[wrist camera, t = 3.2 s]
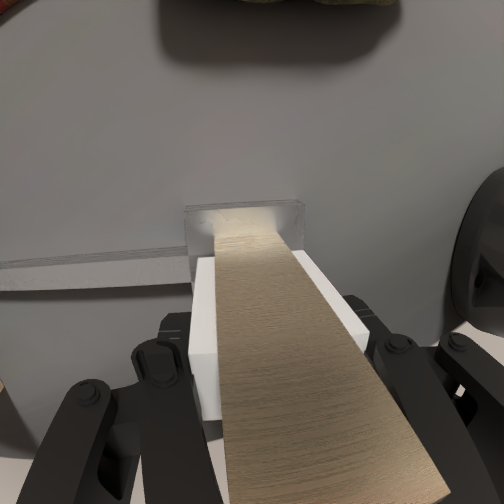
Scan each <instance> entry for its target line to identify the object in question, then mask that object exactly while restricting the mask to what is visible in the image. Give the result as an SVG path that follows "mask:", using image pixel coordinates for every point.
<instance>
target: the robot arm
mask: <svg viewBox="0 0 504 504" xmlns="http://www.w3.org/2000/svg"><path fill="white" fill-rule="evenodd" d="M291 252H292V253H293V254H294V256H295V257H296V259H297V260H298V261H299V263H300V264H301V265H302V267H303V268H304V270H305V271H306V272H307V274H308V275H309V277H310V278H311V279H312V281H313V282H314V283H315V285H316V286H317V288H318V289H319V291H320V292H321V293H322V295H323V296H324V298H325V299H326V300H327V302H328V303H329V305H330V306H331V308H332V309H333V310H334V312H335V313H336V315H337V316H338V318H339V319H340V320H341V322H342V323H343V325H344V326H345V328H346V329H347V331H348V332H349V333H350V335H351V336H352V338H353V339H354V341H355V342H356V344H357V345H358V347H359V348H360V350H361V351H362V352H363V354H364V355H365V357H366V358H367V360H368V361H369V363H370V364H371V366H372V367H373V369H374V370H375V372H376V373H377V375H378V376H379V378H380V379H381V381H382V382H383V384H384V385H385V387H386V388H387V390H388V391H389V393H390V395H391V396H392V398H393V399H394V401H395V402H396V404H397V405H398V407H399V408H400V410H401V412H402V413H403V415H404V416H405V418H406V419H407V421H408V423H409V424H410V426H411V427H412V429H413V430H414V432H415V434H416V435H417V437H418V438H419V440H420V442H421V443H422V445H423V446H424V448H425V450H426V451H427V453H428V455H429V456H430V458H431V459H432V461H433V463H434V464H435V466H436V468H437V469H438V471H439V473H440V474H441V476H442V478H443V479H444V481H445V483H446V485H447V486H448V488H449V490H450V491H451V493H450V494H448V495H447V496H446V497H445V498H444V499H443V500H441V501H440V502H439V503H438V504H504V366H503V365H501V364H500V363H499V362H498V361H497V360H496V359H494V358H493V357H492V356H491V355H490V354H489V353H487V352H486V351H485V350H484V349H482V348H481V347H480V346H479V345H478V344H476V343H475V342H474V341H473V340H472V339H470V338H469V337H467V336H466V335H463V334H460V333H455V332H450V333H446V334H444V335H443V336H441V339H440V341H439V344H438V346H434V347H418V345H417V344H416V343H415V342H414V341H413V340H412V339H411V338H409V337H407V336H405V335H401V334H392V333H391V332H390V331H389V330H388V329H387V327H386V326H385V325H384V324H383V323H382V322H381V321H380V319H379V318H378V317H377V316H376V315H374V313H373V312H372V310H371V309H369V307H368V306H367V305H366V304H365V303H364V301H363V300H361V299H359V298H357V297H355V296H353V295H347V296H341V295H340V294H339V293H338V292H337V290H336V289H335V288H334V287H333V285H332V284H331V283H330V282H329V281H328V279H327V278H326V277H325V276H324V274H323V273H322V272H321V271H320V270H319V268H318V267H317V266H316V265H315V264H314V262H313V261H312V260H311V259H310V258H309V256H308V255H307V254H306V253H305V252H304V251H303V250H298V251H291ZM451 290H452V298H453V302H454V305H455V308H456V310H457V312H458V313H459V314H460V316H462V317H463V318H464V319H465V320H466V321H468V322H469V323H470V324H471V325H472V326H474V327H475V328H476V329H478V330H480V331H483V332H487V333H490V334H493V335H496V336H500V337H503V338H504V167H503V168H500V169H498V170H496V171H495V172H493V173H492V174H491V175H490V176H489V177H488V178H487V179H486V180H485V181H484V183H483V184H482V185H481V187H480V188H479V190H478V191H477V193H476V195H475V196H474V198H473V200H472V202H471V204H470V206H469V209H468V211H467V213H466V216H465V218H464V221H463V224H462V227H461V230H460V233H459V237H458V240H457V244H456V248H455V253H454V259H453V265H452V276H451ZM131 360H132V363H133V366H134V368H135V371H136V374H137V377H138V380H139V382H137V383H135V384H133V385H130V386H127V387H123V388H118V389H113V390H110V387H109V386H108V385H107V384H106V383H105V382H104V381H101V380H97V379H87V380H84V381H80V382H78V383H77V384H75V385H74V386H72V387H71V389H70V390H69V391H68V392H67V394H66V396H65V398H64V400H63V401H62V403H61V405H60V407H59V409H58V411H57V413H56V415H55V417H54V419H53V421H52V423H51V425H50V427H49V429H48V431H47V433H46V435H45V437H44V439H43V441H42V443H41V445H40V447H39V450H38V452H37V454H36V456H35V458H34V461H33V463H32V466H31V468H30V470H29V472H28V475H27V477H26V480H25V482H24V484H23V487H22V489H21V492H20V494H19V497H18V500H17V502H16V504H130V500H131V495H132V490H133V486H134V481H135V476H136V472H137V467H138V463H139V458H140V454H141V463H142V475H143V486H144V494H145V503H146V504H224V503H223V500H222V496H221V493H220V490H219V486H218V483H217V480H216V476H215V473H214V469H213V465H212V462H211V458H210V454H209V450H208V447H207V442H206V438H205V434H204V430H203V427H202V418H203V421H208V420H222V412H221V397H220V381H219V364H218V344H217V321H216V293H215V257H203V258H198V262H197V270H196V279H195V288H194V297H193V306H192V312H181V313H169V314H168V315H167V316H166V317H165V318H164V319H163V320H162V321H161V324H160V328H159V332H158V336H157V338H155V339H151V340H147V341H145V342H143V343H141V344H139V345H138V346H137V347H136V348H135V349H134V350H133V352H132V355H131ZM460 384H461V385H462V386H463V387H464V388H465V389H466V390H465V391H464V393H463V395H462V397H460V396H458V395H456V394H455V393H456V391H457V390H458V387H459V386H460Z"/></svg>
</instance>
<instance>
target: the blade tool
mask: <svg viewBox="0 0 504 504" xmlns="http://www.w3.org/2000/svg"><path fill="white" fill-rule="evenodd" d="M184 220H185V231H186V241H187V246H185V247H172V248H159V249H146V250H133V251H121V252H109V253H97V254H85V255H74V256H62V257H51V258H40V259H29V260H18V261H7V262H0V291H18V290H53V289H79V288H102V287H122V286H140V285H157V284H173V283H188V282H191V284H192V291H193V297H194V288H195V279H196V270H197V262H198V258H203V257H215V293H216V321H217V344H218V364H219V381H220V397H221V412H222V425H223V438H224V450H225V459H226V460H225V461H226V472H227V480H228V481H227V482H228V490H229V500H230V504H438V503H439V502H440V501H441V500H443V499H444V498H445V497H446V496H447V495H448V494H450V493H451V491H450V490H449V488H448V486H447V485H446V483H445V481H444V479H443V478H442V476H441V474H440V473H439V471H438V469H437V468H436V466H435V464H434V463H433V461H432V459H431V458H430V456H429V455H428V453H427V451H426V450H425V448H424V446H423V445H422V443H421V442H420V440H419V438H418V437H417V435H416V434H415V432H414V430H413V429H412V427H411V426H410V424H409V423H408V421H407V419H406V418H405V416H404V415H403V413H402V412H401V410H400V408H399V407H398V405H397V404H396V402H395V401H394V399H393V398H392V396H391V395H390V393H389V391H388V390H387V388H386V387H385V385H384V384H383V382H382V381H381V379H380V378H379V376H378V375H377V373H376V372H375V370H374V369H373V367H372V366H371V364H370V363H369V361H368V360H367V358H366V357H365V355H364V354H363V352H362V351H361V350H360V348H359V347H358V345H357V344H356V342H355V341H354V339H353V338H352V336H351V335H350V333H349V332H348V331H347V329H346V328H345V326H344V325H343V323H342V322H341V320H340V319H339V318H338V316H337V315H336V313H335V312H334V310H333V309H332V308H331V306H330V305H329V303H328V302H327V300H326V299H325V298H324V296H323V295H322V293H321V292H320V291H319V289H318V288H317V286H316V285H315V283H314V282H313V281H312V279H311V278H310V277H309V275H308V274H307V272H306V271H305V270H304V268H303V267H302V265H301V264H300V263H299V261H298V260H297V259H296V257H295V256H294V254H293V253H292V252H291V251H298V250H303V251H304V225H305V205H304V204H303V203H301V202H300V201H298V200H277V201H256V202H238V203H222V204H208V205H195V206H186V208H185V210H184Z"/></svg>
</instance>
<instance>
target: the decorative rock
mask: <svg viewBox="0 0 504 504" xmlns="http://www.w3.org/2000/svg"><path fill="white" fill-rule="evenodd" d="M240 1H246V2H253V3H272V2H277V1H282V0H240ZM314 1H317V2H320V3H323V4H328V5H348V4H374V5H380V6H388V5H392V4H394V3H395V2H396V0H314Z"/></svg>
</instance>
